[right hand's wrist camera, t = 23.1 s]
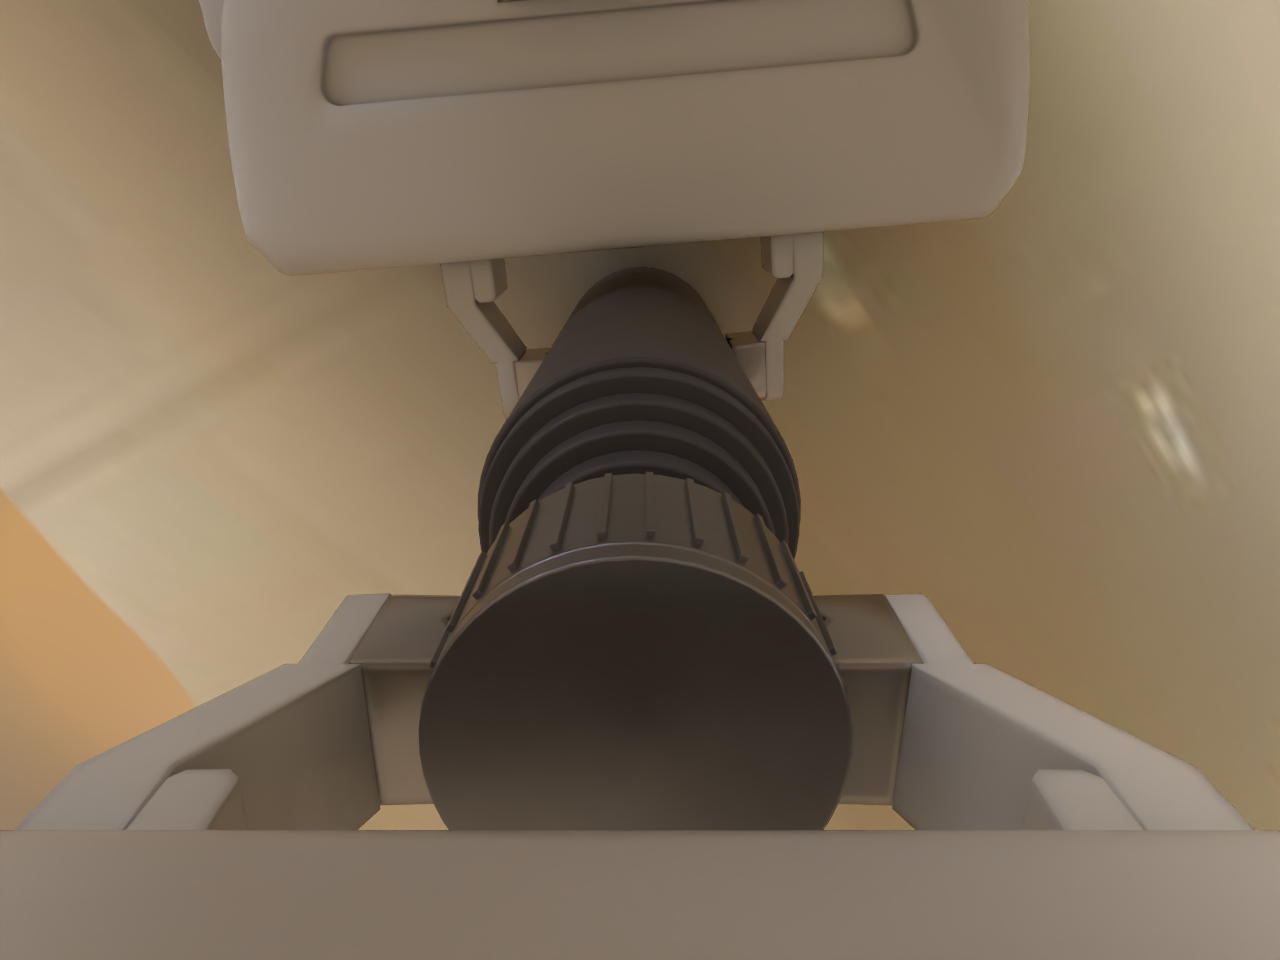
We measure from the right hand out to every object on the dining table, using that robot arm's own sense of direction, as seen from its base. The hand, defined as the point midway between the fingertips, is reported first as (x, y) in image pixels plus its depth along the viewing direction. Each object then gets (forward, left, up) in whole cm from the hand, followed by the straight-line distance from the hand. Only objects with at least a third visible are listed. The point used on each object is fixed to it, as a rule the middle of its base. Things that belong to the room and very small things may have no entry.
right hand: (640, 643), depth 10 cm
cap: (0, 0, +2) cm, 2 cm away
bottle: (0, 0, -20) cm, 20 cm away
